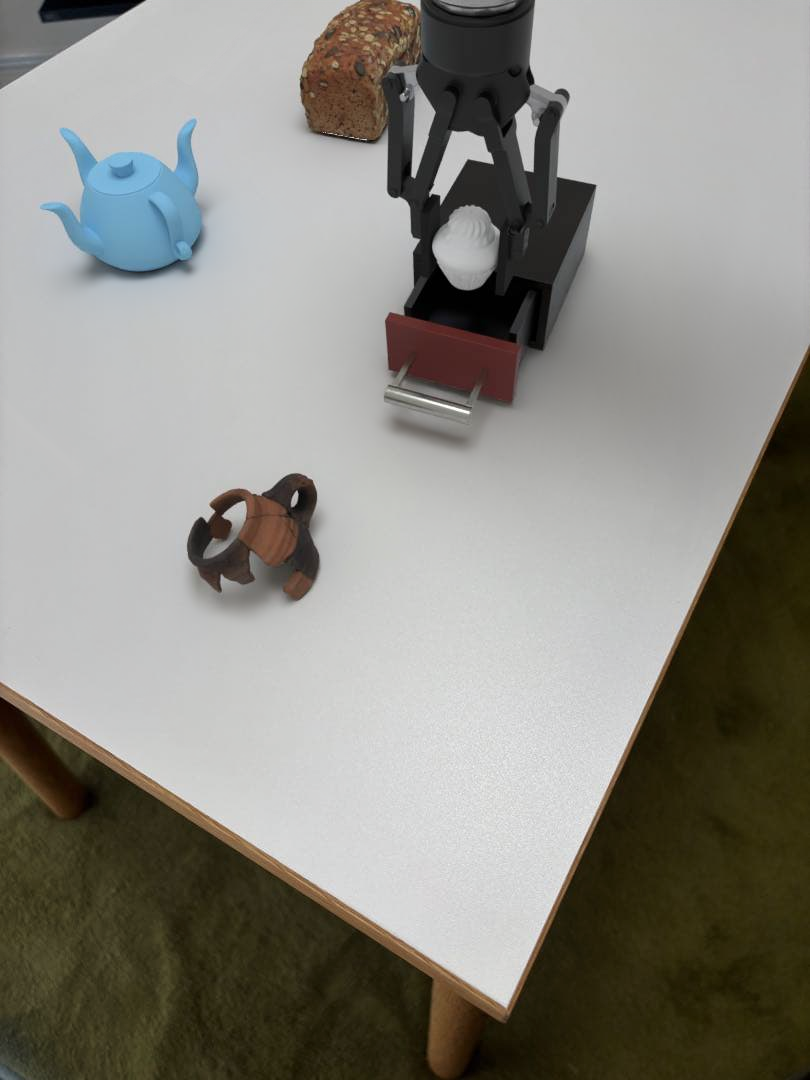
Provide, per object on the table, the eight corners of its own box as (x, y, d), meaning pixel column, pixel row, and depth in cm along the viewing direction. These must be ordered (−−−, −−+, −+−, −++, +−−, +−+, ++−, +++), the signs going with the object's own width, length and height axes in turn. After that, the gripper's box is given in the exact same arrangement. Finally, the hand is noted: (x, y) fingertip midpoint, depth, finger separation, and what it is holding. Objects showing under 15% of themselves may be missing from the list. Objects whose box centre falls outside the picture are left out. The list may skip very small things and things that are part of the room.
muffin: (503, 257, 74) (508, 187, 68) (500, 303, 71) (506, 234, 65) (435, 254, 75) (434, 185, 69) (429, 300, 72) (428, 232, 66)
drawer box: (543, 350, 82) (552, 284, 75) (414, 318, 85) (412, 251, 78) (584, 253, 90) (596, 184, 83) (465, 226, 93) (467, 158, 86)
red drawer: (490, 452, 74) (494, 404, 69) (362, 416, 77) (357, 367, 71) (555, 302, 84) (563, 250, 79) (440, 275, 87) (440, 223, 82)
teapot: (204, 283, 89) (180, 199, 81) (67, 289, 89) (28, 206, 81) (217, 200, 97) (196, 115, 88) (91, 205, 97) (57, 121, 89)
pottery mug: (287, 636, 66) (216, 589, 61) (227, 601, 73) (159, 556, 67) (365, 513, 69) (304, 457, 63) (300, 491, 76) (240, 438, 70)
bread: (379, 147, 102) (374, 65, 93) (301, 133, 104) (289, 51, 95) (428, 70, 111) (427, -12, 102) (355, 58, 113) (348, -23, 105)
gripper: (320, -6, 53) (351, 279, 73) (608, 40, 49) (560, 330, 69) (365, -56, 57) (383, 228, 77) (637, -17, 53) (583, 273, 72)
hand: (467, 276), depth 73 cm, fingers closed on muffin, 6 cm apart
